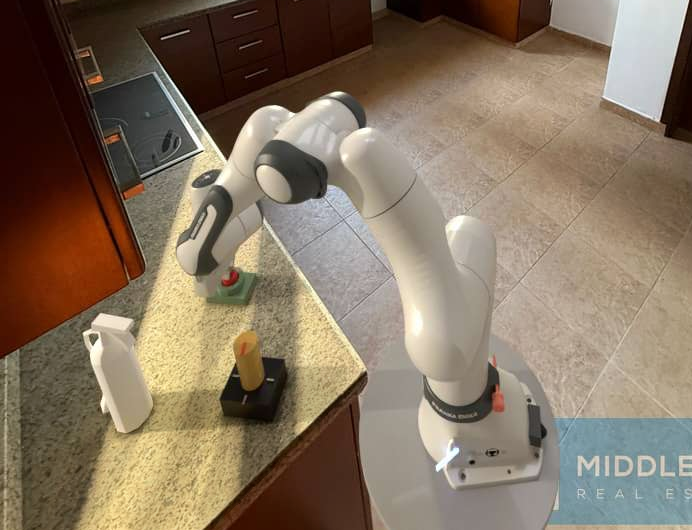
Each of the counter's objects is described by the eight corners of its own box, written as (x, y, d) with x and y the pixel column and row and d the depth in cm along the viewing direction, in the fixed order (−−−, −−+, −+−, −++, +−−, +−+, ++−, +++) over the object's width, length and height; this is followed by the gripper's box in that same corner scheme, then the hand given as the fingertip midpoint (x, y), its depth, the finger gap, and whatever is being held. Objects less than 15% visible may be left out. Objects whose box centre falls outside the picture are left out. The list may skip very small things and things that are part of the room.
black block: (288, 373, 90) (285, 356, 88) (271, 424, 82) (268, 406, 80) (243, 368, 91) (239, 351, 89) (222, 418, 83) (218, 400, 81)
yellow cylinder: (244, 367, 87) (236, 331, 83) (266, 364, 87) (259, 328, 84) (238, 392, 83) (229, 355, 79) (261, 389, 83) (253, 352, 80)
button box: (257, 279, 111) (255, 267, 110) (245, 305, 104) (242, 293, 103) (221, 276, 112) (218, 264, 111) (206, 302, 105) (203, 290, 104)
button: (240, 274, 108) (239, 268, 108) (233, 287, 105) (232, 282, 105) (227, 272, 109) (226, 267, 108) (220, 286, 106) (218, 280, 105)
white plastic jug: (118, 386, 89) (84, 298, 81) (169, 396, 87) (140, 306, 79) (90, 426, 83) (51, 334, 75) (145, 438, 80) (111, 345, 73)
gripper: (208, 271, 92) (219, 317, 96) (250, 200, 111) (258, 241, 116) (180, 269, 93) (193, 315, 97) (227, 199, 112) (236, 240, 116)
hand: (228, 274), depth 106 cm, fingers closed, pressing on button
